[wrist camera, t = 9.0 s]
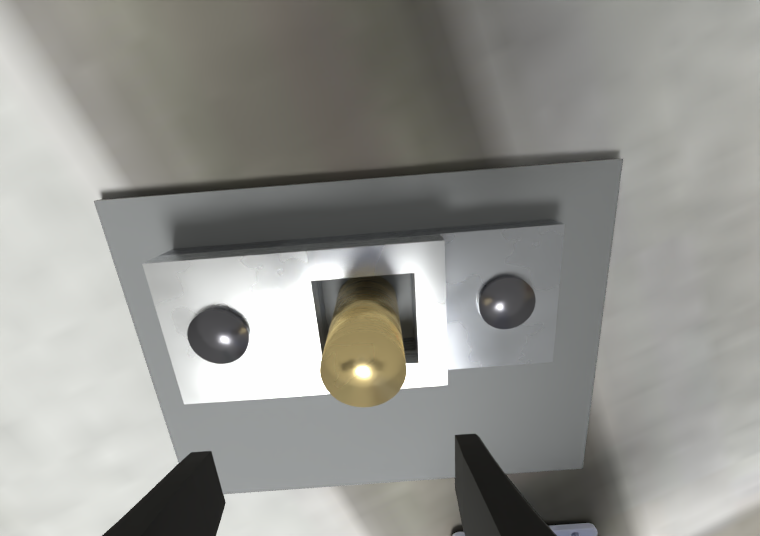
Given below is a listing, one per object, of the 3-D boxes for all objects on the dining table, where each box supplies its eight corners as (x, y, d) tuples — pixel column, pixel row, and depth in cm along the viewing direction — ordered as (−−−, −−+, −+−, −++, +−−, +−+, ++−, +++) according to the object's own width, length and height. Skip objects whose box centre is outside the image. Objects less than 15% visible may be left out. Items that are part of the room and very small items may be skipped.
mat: (615, 158, 17) (622, 158, 16) (578, 461, 22) (582, 468, 22) (101, 199, 17) (93, 200, 16) (193, 489, 22) (189, 496, 22)
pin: (394, 271, 18) (403, 329, 12) (398, 325, 18) (409, 404, 13) (333, 275, 18) (313, 336, 12) (340, 330, 19) (325, 410, 13)
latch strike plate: (551, 218, 17) (583, 231, 14) (542, 349, 19) (568, 380, 16) (173, 248, 17) (137, 266, 14) (206, 374, 19) (180, 408, 17)
